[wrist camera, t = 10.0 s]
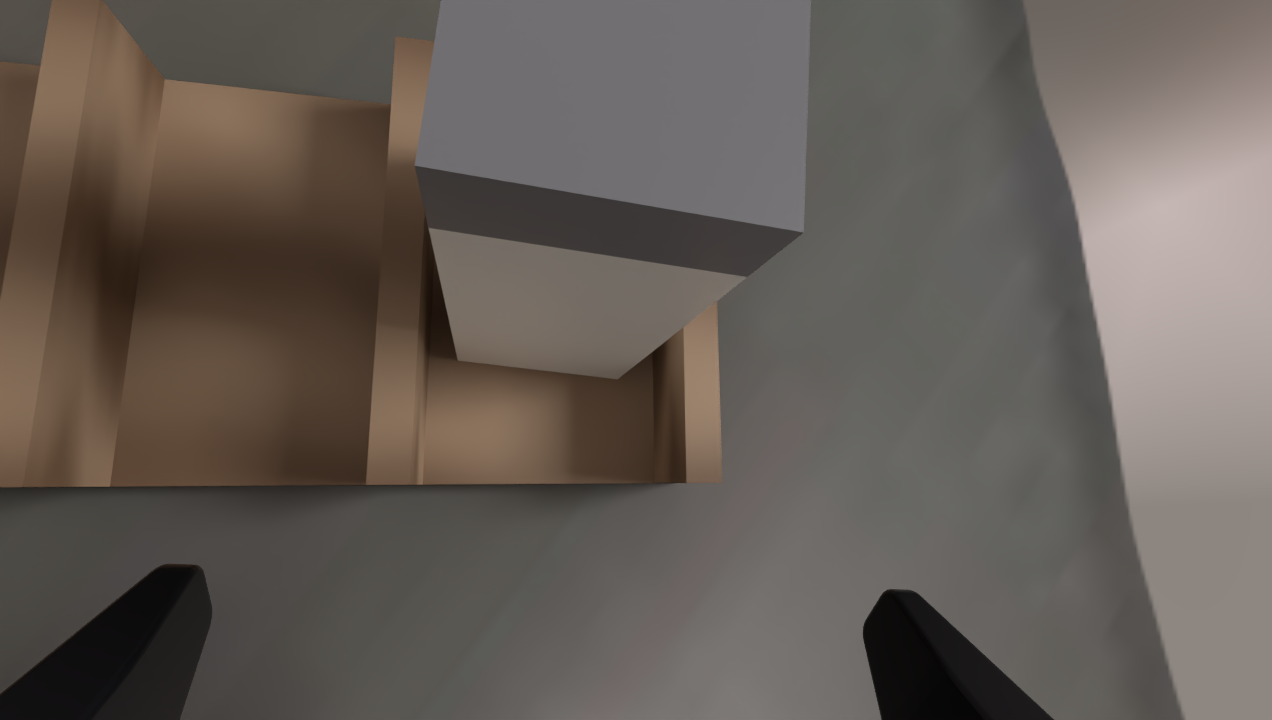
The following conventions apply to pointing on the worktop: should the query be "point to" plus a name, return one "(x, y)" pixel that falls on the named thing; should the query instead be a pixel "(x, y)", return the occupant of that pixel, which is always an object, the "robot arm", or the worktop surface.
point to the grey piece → (607, 169)
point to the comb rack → (272, 299)
